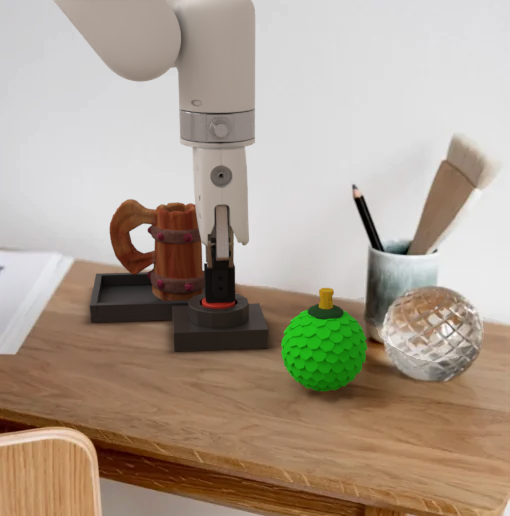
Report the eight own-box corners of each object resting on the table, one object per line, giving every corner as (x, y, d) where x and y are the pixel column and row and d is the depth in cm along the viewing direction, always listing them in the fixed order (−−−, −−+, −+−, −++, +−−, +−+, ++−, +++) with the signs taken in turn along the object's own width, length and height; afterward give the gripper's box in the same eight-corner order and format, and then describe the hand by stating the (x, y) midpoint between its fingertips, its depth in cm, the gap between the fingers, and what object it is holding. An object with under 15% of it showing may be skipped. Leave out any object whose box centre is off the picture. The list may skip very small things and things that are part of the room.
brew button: (203, 321, 90) (202, 306, 90) (201, 310, 94) (201, 295, 93) (236, 320, 91) (236, 305, 90) (233, 309, 94) (233, 294, 93)
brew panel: (174, 351, 89) (173, 316, 87) (172, 323, 96) (171, 290, 95) (268, 348, 90) (268, 313, 88) (259, 321, 97) (259, 288, 96)
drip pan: (90, 322, 96) (89, 305, 96) (96, 289, 107) (95, 273, 106) (235, 317, 98) (235, 301, 97) (227, 285, 109) (227, 269, 108)
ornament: (351, 413, 77) (357, 310, 73) (268, 398, 79) (269, 298, 75) (373, 378, 84) (380, 282, 79) (295, 365, 86) (298, 271, 82)
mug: (213, 290, 105) (212, 195, 100) (207, 309, 99) (205, 208, 94) (120, 287, 106) (115, 193, 101) (109, 306, 100) (102, 206, 95)
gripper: (263, 139, 78) (262, 324, 85) (247, 116, 91) (247, 277, 99) (182, 141, 77) (188, 327, 84) (177, 117, 90) (183, 279, 98)
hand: (219, 299), depth 92 cm, fingers closed
